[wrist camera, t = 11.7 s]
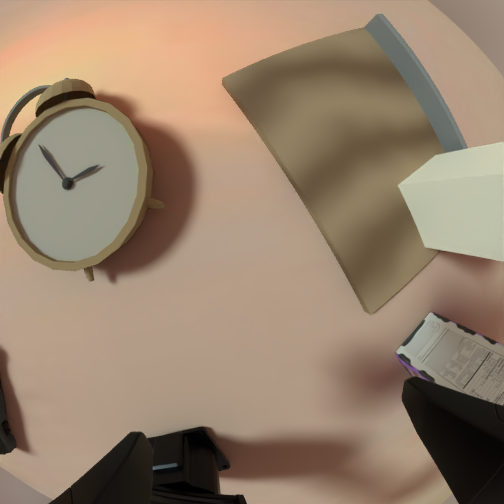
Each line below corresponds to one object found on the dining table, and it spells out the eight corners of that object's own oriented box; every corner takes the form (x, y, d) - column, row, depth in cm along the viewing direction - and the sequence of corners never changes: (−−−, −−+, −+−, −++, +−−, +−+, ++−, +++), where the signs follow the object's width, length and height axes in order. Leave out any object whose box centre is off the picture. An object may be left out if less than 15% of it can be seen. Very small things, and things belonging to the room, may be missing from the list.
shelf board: (463, 217, 22) (470, 217, 21) (364, 311, 22) (370, 314, 21) (359, 32, 19) (364, 27, 18) (221, 84, 18) (222, 78, 17)
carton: (425, 247, 21) (530, 267, 10) (397, 185, 20) (511, 173, 9) (460, 210, 21) (553, 215, 10) (437, 154, 20) (533, 136, 9)
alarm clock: (70, 308, 16) (-42, 157, 10) (88, 282, 20) (-10, 159, 15) (189, 187, 16) (58, 36, 10) (186, 185, 20) (77, 60, 15)
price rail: (467, 212, 23) (491, 213, 19) (463, 217, 22) (488, 218, 19) (365, 30, 19) (383, 13, 15) (359, 32, 19) (376, 14, 15)
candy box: (461, 372, 26) (547, 427, 9) (431, 407, 25) (512, 474, 9) (430, 308, 23) (565, 369, 7) (392, 353, 23) (517, 447, 7)
